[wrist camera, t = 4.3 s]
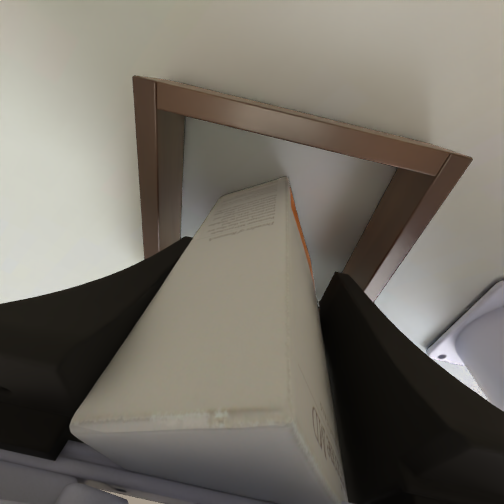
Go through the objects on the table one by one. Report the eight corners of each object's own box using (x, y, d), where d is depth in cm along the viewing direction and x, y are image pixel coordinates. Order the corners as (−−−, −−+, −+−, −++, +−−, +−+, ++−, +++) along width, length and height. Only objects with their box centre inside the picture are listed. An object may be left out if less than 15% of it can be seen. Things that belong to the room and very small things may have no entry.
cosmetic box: (313, 260, 16) (358, 543, 6) (252, 272, 17) (203, 526, 7) (289, 170, 13) (298, 430, 3) (217, 193, 14) (49, 433, 4)
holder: (430, 143, 11) (475, 158, 9) (329, 319, 19) (336, 356, 16) (168, 79, 11) (131, 74, 9) (167, 281, 18) (147, 312, 16)
